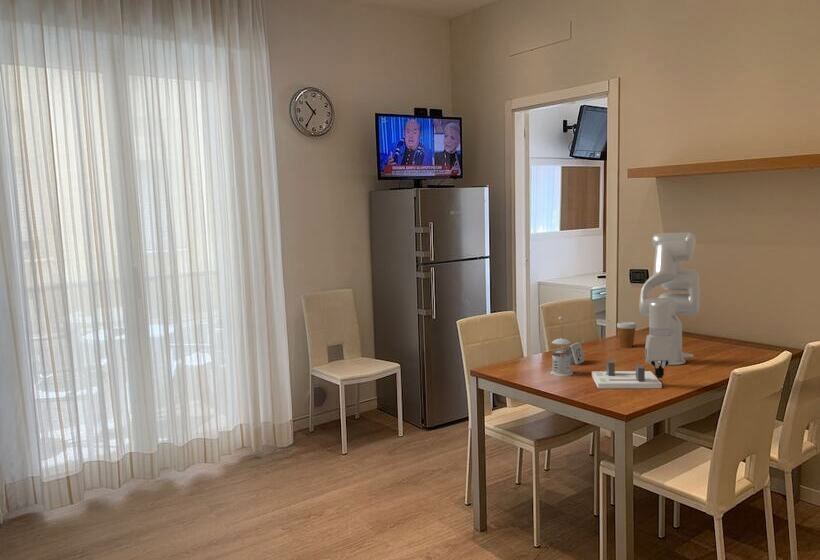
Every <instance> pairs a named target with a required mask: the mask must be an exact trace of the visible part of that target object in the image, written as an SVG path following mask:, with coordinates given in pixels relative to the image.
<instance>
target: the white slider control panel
mask: <svg viewBox="0 0 820 560" xmlns="http://www.w3.org/2000/svg"><path fill="white" fill-rule="evenodd" d="M615 366H616V365H615V362H614V359H606V371H605V370H604V371H601V370H599V371H598V370H597V371H596V370H595V371H591V377H592V380H593V381H594V384H595V385H596V387H597V389H662V388H663V387H662V385H663V384H662V382H661V381H660V380H659V378H657V376H656V375H655V373H653V371H651V370H645V381H638V380H637V379H636V370H632V371H631V370H629V371H628V370H626V371H625V370H624V371H623V370H620V371H617V370H615Z"/></svg>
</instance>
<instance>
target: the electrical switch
mask: <svg viewBox="0 0 820 560" xmlns="http://www.w3.org/2000/svg"><path fill="white" fill-rule="evenodd" d="M565 350H569V351H570V352H569V353H568V354H570V355H571V365H573V364H575V365H576V366H577V365H578V366H579V365H580V364H582V363H584V362H585V361H586V357H585V354H584V351H583V347H582V344H581V342H580V341H576V342H575V343H573V344H569V346H567V347H565Z"/></svg>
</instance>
